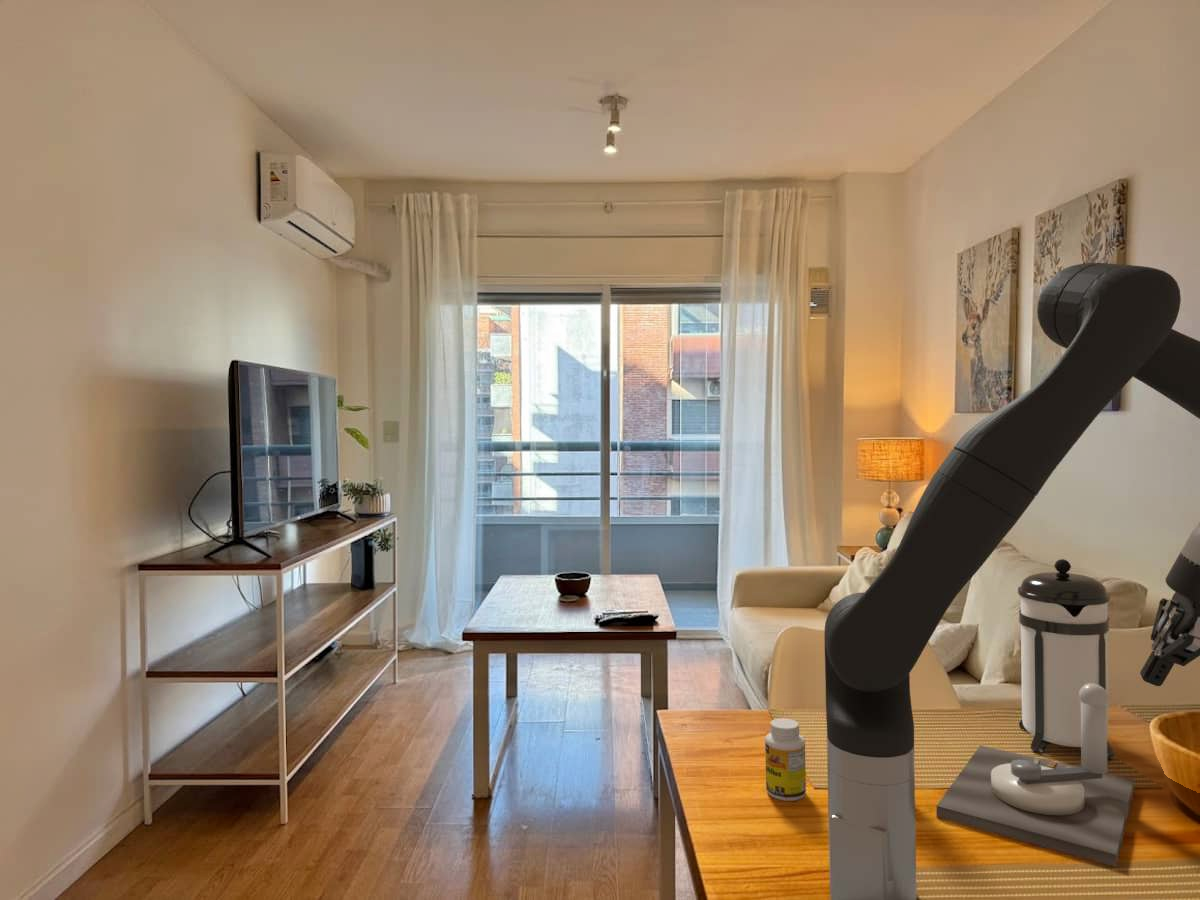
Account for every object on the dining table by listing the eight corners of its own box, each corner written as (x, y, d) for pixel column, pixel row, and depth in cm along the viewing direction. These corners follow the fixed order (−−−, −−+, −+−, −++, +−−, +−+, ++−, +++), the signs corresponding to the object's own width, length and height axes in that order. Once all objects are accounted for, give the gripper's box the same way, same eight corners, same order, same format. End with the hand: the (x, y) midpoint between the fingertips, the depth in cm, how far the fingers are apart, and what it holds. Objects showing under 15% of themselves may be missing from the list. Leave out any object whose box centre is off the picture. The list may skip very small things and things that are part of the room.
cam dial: (1025, 818, 99) (1023, 704, 98) (974, 779, 110) (973, 677, 109) (1138, 808, 100) (1137, 697, 100) (1076, 771, 111) (1075, 670, 111)
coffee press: (1146, 751, 121) (1145, 561, 120) (1075, 770, 115) (1073, 571, 115) (1046, 714, 137) (1044, 546, 137) (979, 729, 132) (977, 554, 131)
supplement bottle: (759, 788, 112) (757, 718, 112) (792, 782, 114) (791, 713, 114) (778, 805, 107) (777, 732, 107) (813, 799, 109) (812, 727, 108)
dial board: (1116, 867, 90) (1116, 852, 90) (936, 816, 103) (936, 804, 103) (1134, 789, 109) (1133, 777, 109) (980, 754, 122) (980, 744, 121)
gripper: (1274, 597, 86) (1196, 721, 92) (1235, 558, 98) (1169, 670, 103) (1198, 569, 88) (1127, 692, 94) (1169, 535, 100) (1108, 646, 106)
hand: (1149, 680), depth 99 cm, fingers closed
